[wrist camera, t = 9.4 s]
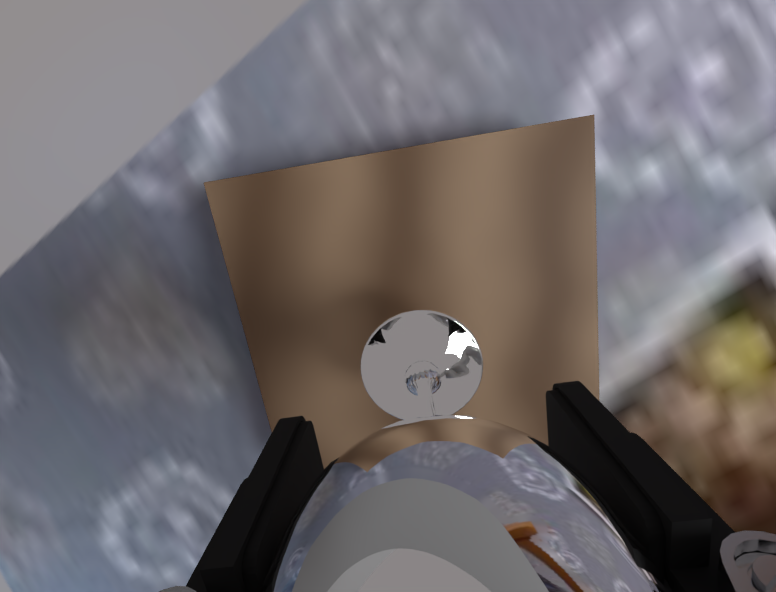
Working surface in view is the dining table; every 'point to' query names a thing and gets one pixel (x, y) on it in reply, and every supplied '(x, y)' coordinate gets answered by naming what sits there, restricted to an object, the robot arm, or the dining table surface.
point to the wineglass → (451, 492)
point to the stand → (418, 270)
